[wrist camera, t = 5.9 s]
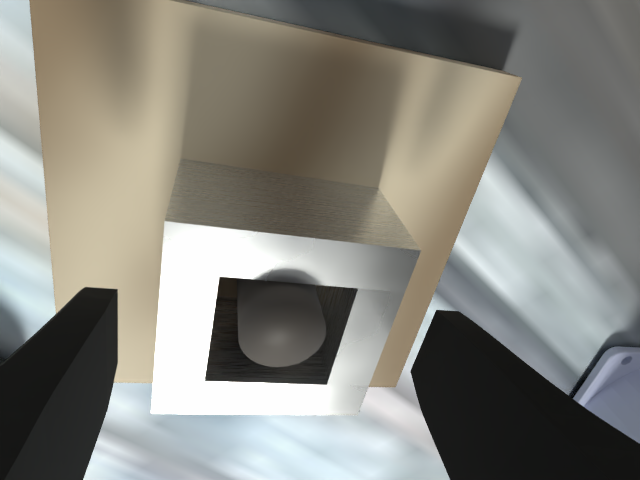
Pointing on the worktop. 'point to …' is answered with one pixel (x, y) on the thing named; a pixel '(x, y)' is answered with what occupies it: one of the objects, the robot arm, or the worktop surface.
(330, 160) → the tan peg board
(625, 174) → the worktop surface
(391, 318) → the collar
